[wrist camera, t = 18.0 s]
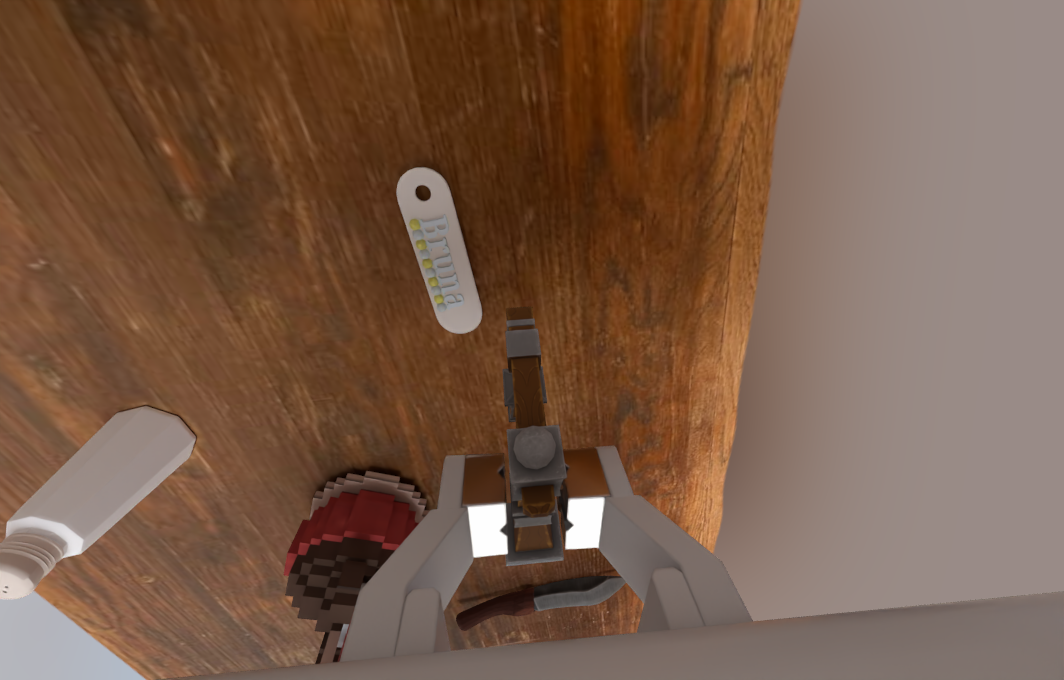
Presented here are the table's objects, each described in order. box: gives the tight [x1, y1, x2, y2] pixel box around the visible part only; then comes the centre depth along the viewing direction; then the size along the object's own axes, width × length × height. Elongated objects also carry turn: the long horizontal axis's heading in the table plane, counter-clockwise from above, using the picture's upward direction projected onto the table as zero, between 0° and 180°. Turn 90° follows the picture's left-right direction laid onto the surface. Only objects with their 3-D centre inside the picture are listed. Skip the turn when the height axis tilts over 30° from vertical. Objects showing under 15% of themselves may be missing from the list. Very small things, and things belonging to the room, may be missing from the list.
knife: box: [456, 576, 626, 631], centre depth 42 cm, size 18×2×3 cm, turn 101°
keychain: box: [396, 167, 482, 334], centre depth 25 cm, size 10×1×3 cm
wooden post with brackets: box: [503, 307, 567, 566], centre depth 11 cm, size 2×8×4 cm, turn 2°
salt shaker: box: [0, 406, 196, 599], centre depth 25 cm, size 5×5×11 cm
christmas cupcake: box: [284, 471, 430, 664], centre depth 27 cm, size 11×9×18 cm
